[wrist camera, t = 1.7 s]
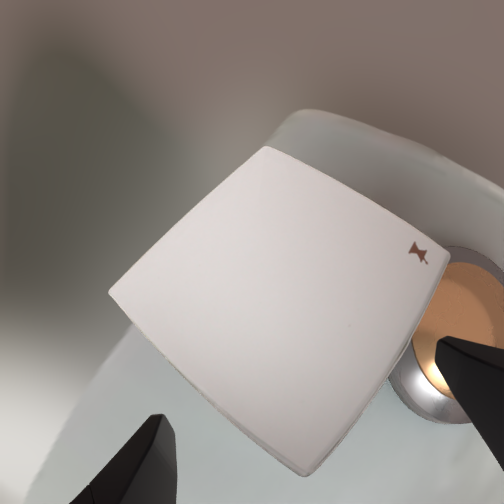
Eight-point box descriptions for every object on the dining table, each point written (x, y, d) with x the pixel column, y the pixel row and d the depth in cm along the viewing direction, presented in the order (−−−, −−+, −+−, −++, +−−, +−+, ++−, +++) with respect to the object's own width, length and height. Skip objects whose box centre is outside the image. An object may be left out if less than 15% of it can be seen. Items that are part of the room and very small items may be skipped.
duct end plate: (527, 309, 17) (541, 300, 15) (475, 450, 13) (491, 451, 11) (423, 230, 22) (432, 215, 20) (343, 365, 18) (351, 360, 16)
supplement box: (274, 283, 21) (268, 136, 10) (361, 346, 18) (462, 251, 7) (201, 362, 19) (98, 287, 8) (289, 436, 16) (312, 487, 5)
